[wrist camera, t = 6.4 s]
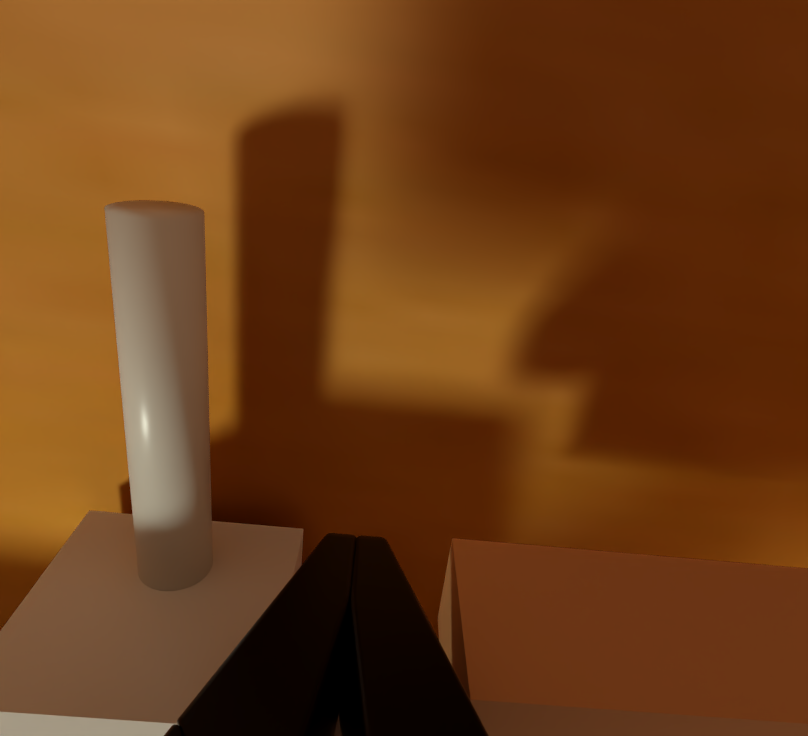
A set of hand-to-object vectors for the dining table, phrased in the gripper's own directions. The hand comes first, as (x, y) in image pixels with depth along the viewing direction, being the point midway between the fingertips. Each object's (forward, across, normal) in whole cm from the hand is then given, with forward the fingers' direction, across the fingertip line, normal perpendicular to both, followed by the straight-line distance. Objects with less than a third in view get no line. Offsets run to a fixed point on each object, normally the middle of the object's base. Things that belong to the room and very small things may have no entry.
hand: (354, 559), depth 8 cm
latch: (0, -5, +1) cm, 5 cm away
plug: (+3, +3, +1) cm, 4 cm away
